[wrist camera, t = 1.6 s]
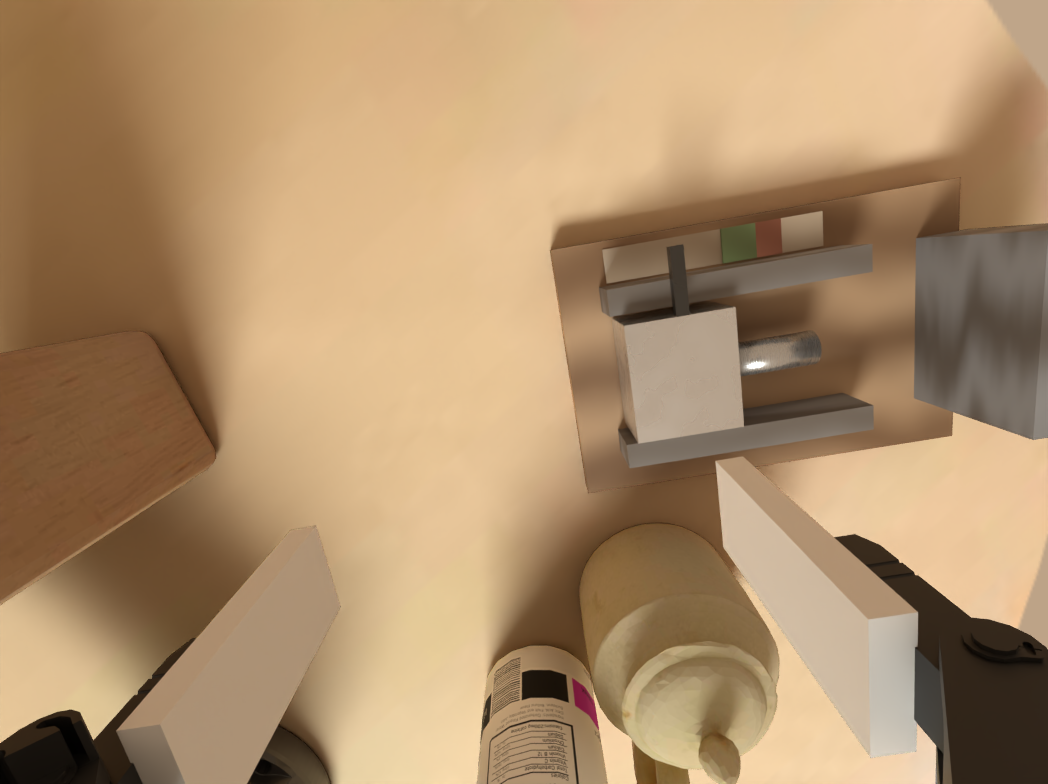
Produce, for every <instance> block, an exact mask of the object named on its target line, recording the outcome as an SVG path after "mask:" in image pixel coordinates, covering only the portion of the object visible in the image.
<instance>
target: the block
mask: <svg viewBox="0 0 1048 784" xmlns="http://www.w3.org/2000/svg"><path fill="white" fill-rule="evenodd" d="M215 459H216V454H215V449H214V447H213V445H212V443H211V442H210V440H209V438H208V436H207V434H206V433H205V431H204V429H203V427H202V425H201V424H200V422H199V420H198V418H197V416H196V415H195V413H194V411H193V409H192V407H191V406H190V404H189V402H188V400H187V398H186V397H185V395H184V393H183V391H182V389H181V388H180V386H179V384H178V382H177V380H176V379H175V377H174V375H173V373H172V371H171V370H170V368H169V366H168V364H167V362H166V361H165V359H164V357H163V355H162V353H161V352H160V350H159V348H158V346H157V344H156V343H155V341H154V340H153V339H152V338H151V337H150V336H149V335H148V334H147V333H145V332H141V331H126V332H120V333H114V334H108V335H103V336H97V337H91V338H86V339H80V340H74V341H69V342H63V343H57V344H52V345H46V346H40V347H35V348H29V349H23V350H17V351H12V352H6V353H0V605H1V604H3V603H4V602H6V601H7V600H9V599H10V598H12V597H13V596H15V595H16V594H18V593H20V592H21V591H23V590H24V589H26V588H27V587H29V586H30V585H32V584H33V583H35V582H36V581H38V580H39V579H41V578H42V577H44V576H45V575H47V574H48V573H50V572H51V571H53V570H55V569H56V568H58V567H59V566H61V565H62V564H64V563H65V562H67V561H68V560H70V559H71V558H73V557H74V556H76V555H77V554H79V553H80V552H82V551H83V550H85V549H86V548H88V547H90V546H91V545H93V544H94V543H96V542H97V541H99V540H100V539H102V538H103V537H105V536H106V535H108V534H109V533H111V532H112V531H114V530H115V529H117V528H118V527H120V526H121V525H123V524H124V523H126V522H128V521H129V520H131V519H132V518H134V517H135V516H137V515H138V514H140V513H141V512H143V511H144V510H146V509H147V508H149V507H150V506H152V505H153V504H155V503H156V502H158V501H159V500H161V499H163V498H164V497H166V496H167V495H169V494H170V493H172V492H173V491H175V490H176V489H178V488H179V487H181V486H182V485H184V484H185V483H187V482H188V481H190V480H191V479H193V478H194V477H196V476H198V475H199V474H201V473H202V472H204V471H205V470H207V469H208V468H209V467H210V466H211V465H212V464H213V463H214V461H215Z"/></svg>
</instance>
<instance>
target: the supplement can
mask: <svg viewBox="0 0 1048 784" xmlns="http://www.w3.org/2000/svg"><path fill="white" fill-rule="evenodd" d="M477 784H608V782H607V776H606V770H605V764H604V758H603V751H602V745H601V739H600V733H599V727H598V721H597V714H596V708H595V702H594V696H593V690H592V684H591V678H590V675H589V673H588V671H587V670H586V668H585V667H584V665H583V664H582V662H581V661H580V660H578V659H577V658H575V657H574V656H573V655H571V654H570V653H569V652H567V651H564V650H561V649H558V648H555V647H552V646H527V647H524V648H520V649H517V650H514V651H511V652H510V653H509V654H507V655H506V656H504V657H503V658H501V659H500V660H499V661H497V663H496V664H495V666H494V667H493V669H492V670H491V672H490V673H489V675H488V678H487V683H486V688H485V697H484V708H483V719H482V730H481V742H480V753H479V764H478V775H477Z"/></svg>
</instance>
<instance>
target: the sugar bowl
mask: <svg viewBox="0 0 1048 784" xmlns="http://www.w3.org/2000/svg"><path fill="white" fill-rule="evenodd" d="M579 596H580V606H581V613H582V622H583V630H584V637H585V644H586V650H587V656H588V662H589V667H590V672H591V678H592V683H593V688H594V692H595V695H596V698H597V700H598V703H599V705H600V708H601V709H602V711H603V712H604V714H605V715H606V716H607V718H608V719H609V720H610V722H611V723H612V724H613V725H614V726H615V727H617V728H618V729H619V730H621V731H622V732H623V733H625V734H627V735H628V736H629V737H630V738H631V739H632V747H633V758H634V769H635V776H636V780H637V784H690V781H689V775H688V769H704V770H705V772H706V773H707V775H708V776H709V777H710V778H711V779H712V780H713V781H715V782H716V783H718V784H736V782H737V780H738V778H739V774H740V756H742V755H743V754H745V753H747V752H748V751H750V750H751V749H752V748H753V747H754V746H755V745H756V744H757V743H758V742H759V741H760V740H761V739H762V737H763V736H764V735H765V733H766V731H767V730H768V728H769V726H770V724H771V722H772V720H773V717H774V714H775V711H776V707H777V693H776V686H777V682H778V678H779V654H778V649H777V646H776V643H775V641H774V639H773V637H772V635H771V633H770V631H769V629H768V627H767V626H766V624H765V623H764V621H763V619H762V618H761V616H760V614H759V613H758V611H757V610H756V608H755V607H754V605H753V603H752V602H751V600H750V599H749V597H748V595H747V594H746V592H745V591H744V589H743V588H742V587H741V585H740V584H739V582H738V581H737V580H736V578H735V577H734V575H733V574H732V572H731V571H730V570H729V568H728V567H727V566H726V564H725V563H724V561H723V560H722V559H721V557H720V556H719V554H718V553H717V552H716V550H715V549H714V548H713V546H711V545H710V544H709V543H708V542H707V541H706V540H705V539H703V538H702V537H700V536H699V535H698V534H696V533H694V532H692V531H690V530H688V529H686V528H683V527H680V526H676V525H672V524H664V523H650V524H642V525H637V526H634V527H631V528H627V529H625V530H622V531H620V532H619V533H617V534H615V535H613V536H612V537H610V538H609V539H608V540H606V541H605V542H603V543H602V544H601V545H600V546H599V547H598V548H597V549H596V550H595V552H594V553H593V554H592V556H591V557H590V558H589V560H588V562H587V564H586V566H585V568H584V570H583V573H582V576H581V581H580V588H579Z"/></svg>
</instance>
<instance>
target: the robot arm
mask: <svg viewBox="0 0 1048 784" xmlns="http://www.w3.org/2000/svg"><path fill="white" fill-rule="evenodd" d="M716 472H717V483H718V494H719V505H720V516H721V527H722V538H723V548H724V549H725V550H726V552H727V553H728V555H729V556H730V558H731V559H732V561H733V562H734V563H735V565H736V566H737V568H738V569H739V571H740V572H741V573H742V575H743V576H744V578H745V579H746V581H747V582H748V583H749V585H750V586H751V588H752V589H753V591H754V592H755V593H756V595H757V596H758V598H759V599H760V601H761V602H762V603H763V605H764V606H765V608H766V609H767V611H768V612H769V613H770V615H771V616H772V618H773V619H774V621H775V622H776V623H777V625H778V626H779V628H780V629H781V631H782V632H783V634H784V635H785V636H786V638H787V639H788V641H789V642H790V644H791V645H792V646H793V648H794V649H795V651H796V652H797V654H798V655H799V656H800V658H801V659H802V661H803V662H804V664H805V665H806V666H807V668H808V669H809V671H810V672H811V674H812V675H813V676H814V678H815V679H816V681H817V682H818V684H819V685H820V686H821V688H822V689H823V691H824V692H825V694H826V695H827V697H828V698H829V699H830V701H831V702H832V704H833V705H834V707H835V708H836V709H837V711H838V712H839V714H840V715H841V717H842V718H843V719H844V721H845V722H846V724H847V725H848V727H849V728H850V729H851V731H852V732H853V734H854V735H855V737H856V738H857V739H858V741H859V742H860V744H861V745H862V747H863V748H864V749H865V751H866V752H867V754H868V755H869V757H870V758H873V757H881V756H888V755H895V754H902V753H910V752H916V743H917V723H918V725H919V726H920V727H921V728H922V729H923V730H924V732H925V733H926V734H927V735H928V736H929V737H930V739H931V740H932V741H933V742H934V743H935V745H936V784H1048V649H1047V648H1046V647H1045V646H1044V645H1042V644H1041V643H1040V642H1038V641H1037V640H1036V639H1035V638H1033V637H1032V636H1030V635H1028V634H1027V633H1024V632H1022V631H1020V630H1018V629H1016V628H1014V627H1012V626H1010V625H1006V624H1003V623H999V622H996V621H992V620H989V619H979V618H971V617H970V616H968V615H967V614H966V613H965V612H963V611H962V610H961V609H960V608H958V607H957V606H956V605H955V604H953V603H952V602H951V601H950V600H948V599H947V598H946V597H945V596H943V595H942V594H941V593H940V592H938V591H937V590H936V589H935V588H933V587H932V586H931V585H929V584H928V583H927V582H926V581H924V580H923V579H922V578H921V577H919V576H918V575H916V576H915V574H914V572H913V571H912V570H911V569H909V568H908V567H907V566H906V565H904V564H903V563H899V560H898V559H897V558H896V557H894V556H893V555H892V554H891V553H889V552H888V551H887V550H886V549H884V548H883V547H882V546H880V545H878V544H876V543H874V542H872V541H869V540H867V539H865V538H862V537H860V536H858V535H856V534H853V535H847V536H840V537H833V536H832V535H831V534H830V533H828V532H827V531H826V530H825V529H824V528H823V527H822V526H821V525H819V524H818V523H817V522H816V521H815V520H814V519H813V518H812V517H810V516H809V515H808V514H807V513H806V512H805V511H804V510H803V509H801V508H800V507H799V506H798V505H797V504H796V503H795V502H794V501H792V500H791V499H790V498H789V497H788V496H787V495H786V494H785V493H783V492H782V491H781V490H780V489H779V488H778V487H777V486H776V485H774V484H773V483H772V482H771V481H770V480H769V479H768V478H767V477H765V476H764V475H763V474H762V473H761V472H760V471H759V470H758V469H756V468H755V467H754V466H753V465H752V464H751V463H750V462H749V461H747V460H746V459H745V458H744V457H743V456H742V457H736V458H730V459H724V460H718V461H716ZM340 607H341V606H340V603H339V600H338V597H337V593H336V590H335V587H334V583H333V580H332V577H331V573H330V570H329V567H328V564H327V560H326V557H325V554H324V550H323V547H322V544H321V540H320V537H319V534H318V531H317V527H316V526H312V527H306V528H299V529H293V530H290V531H289V532H288V533H287V535H286V536H285V537H284V538H283V539H282V540H281V542H280V543H279V544H278V545H277V546H276V547H275V548H274V550H273V551H272V552H271V553H270V554H269V555H268V556H267V558H266V559H265V560H264V561H263V562H262V563H261V565H260V566H259V567H258V568H257V569H256V570H255V571H254V573H253V574H252V575H251V576H250V577H249V578H248V580H247V581H246V582H245V583H244V584H243V585H242V586H241V588H240V589H239V590H238V591H237V592H236V593H235V595H234V596H233V597H232V598H231V599H230V600H229V601H228V603H227V604H226V605H225V606H224V607H223V608H222V609H221V611H220V612H219V613H218V614H217V615H216V616H215V618H214V619H213V620H212V621H211V622H210V623H209V624H208V626H207V627H206V628H205V629H204V630H203V631H202V633H201V634H200V635H199V636H198V637H197V638H192V639H191V640H190V641H188V642H187V643H186V644H185V645H183V646H182V647H181V648H179V649H178V650H177V651H175V652H174V653H173V654H171V655H170V656H169V657H168V658H167V659H166V660H165V661H164V663H163V664H162V665H161V666H160V667H159V668H158V669H157V670H156V672H155V673H154V674H153V675H152V679H148V680H147V682H146V683H145V684H144V685H143V686H142V687H141V688H140V689H139V690H138V694H137V695H134V696H133V697H132V698H131V699H130V700H129V702H128V703H127V704H126V705H125V706H124V707H123V708H122V709H121V710H120V712H119V713H118V714H117V715H116V716H115V717H114V718H113V719H112V721H111V722H110V723H109V724H108V725H107V726H106V727H105V728H104V729H103V731H102V732H101V733H100V734H99V735H98V736H97V737H96V738H95V739H94V741H93V739H92V737H91V735H90V733H89V730H88V728H87V726H86V724H85V722H84V720H83V718H82V716H81V713H80V712H77V711H74V710H67V711H60V712H56V713H53V714H51V715H48V716H46V717H43V718H40V719H38V720H36V721H35V722H33V723H31V724H29V725H27V726H25V727H24V728H22V729H20V730H18V731H17V732H16V733H14V734H13V735H11V736H10V737H8V738H7V739H6V740H4V741H3V742H1V743H0V784H330V782H329V779H328V776H327V773H326V771H325V769H324V767H323V765H322V763H321V762H320V760H319V759H318V757H317V756H316V755H315V754H314V752H313V751H312V750H311V749H310V748H309V747H308V746H307V745H306V744H305V743H304V742H302V741H301V740H300V739H299V738H297V737H296V736H294V735H293V734H291V733H290V732H288V731H286V730H284V729H282V728H281V727H278V724H279V722H280V721H281V719H282V717H283V715H284V713H285V711H286V709H287V707H288V705H289V704H290V702H291V700H292V698H293V696H294V694H295V692H296V690H297V688H298V687H299V685H300V683H301V681H302V679H303V677H304V675H305V673H306V671H307V670H308V668H309V666H310V664H311V662H312V660H313V658H314V656H315V654H316V653H317V651H318V649H319V647H320V645H321V643H322V641H323V639H324V637H325V636H326V634H327V632H328V630H329V628H330V626H331V624H332V622H333V620H334V619H335V617H336V615H337V613H338V611H339V609H340Z"/></svg>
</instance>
